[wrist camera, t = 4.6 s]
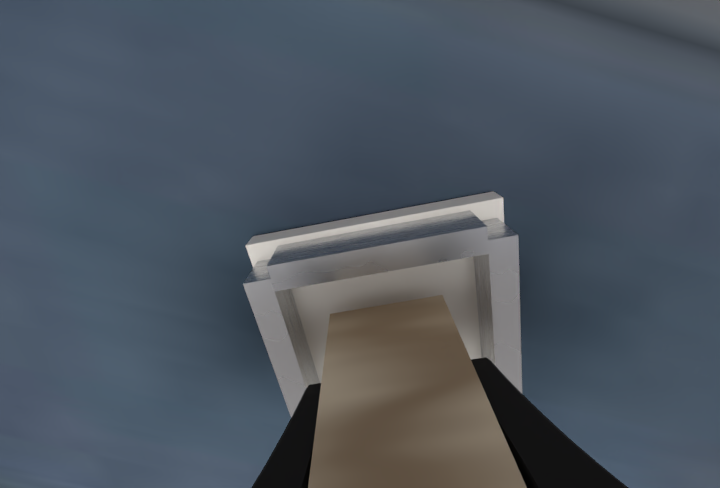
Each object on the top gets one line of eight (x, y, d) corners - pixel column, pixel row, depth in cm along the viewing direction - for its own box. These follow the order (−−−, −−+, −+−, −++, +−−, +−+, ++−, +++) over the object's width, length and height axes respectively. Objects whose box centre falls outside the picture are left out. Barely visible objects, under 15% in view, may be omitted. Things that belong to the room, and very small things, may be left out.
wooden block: (442, 294, 11) (577, 601, 4) (452, 382, 12) (566, 719, 5) (330, 313, 11) (289, 634, 4) (352, 397, 12) (347, 738, 6)
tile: (493, 191, 11) (503, 197, 10) (503, 382, 14) (510, 398, 13) (252, 236, 12) (245, 245, 11) (310, 411, 15) (308, 427, 14)
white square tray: (496, 205, 10) (517, 220, 9) (505, 395, 13) (522, 428, 12) (253, 250, 11) (238, 271, 10) (311, 423, 14) (306, 459, 12)
